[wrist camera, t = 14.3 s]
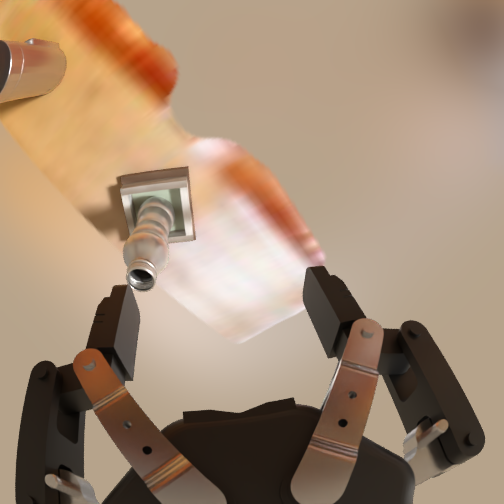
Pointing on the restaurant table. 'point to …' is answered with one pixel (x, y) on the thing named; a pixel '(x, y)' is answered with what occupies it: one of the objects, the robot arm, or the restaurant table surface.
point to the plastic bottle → (149, 244)
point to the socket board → (168, 187)
